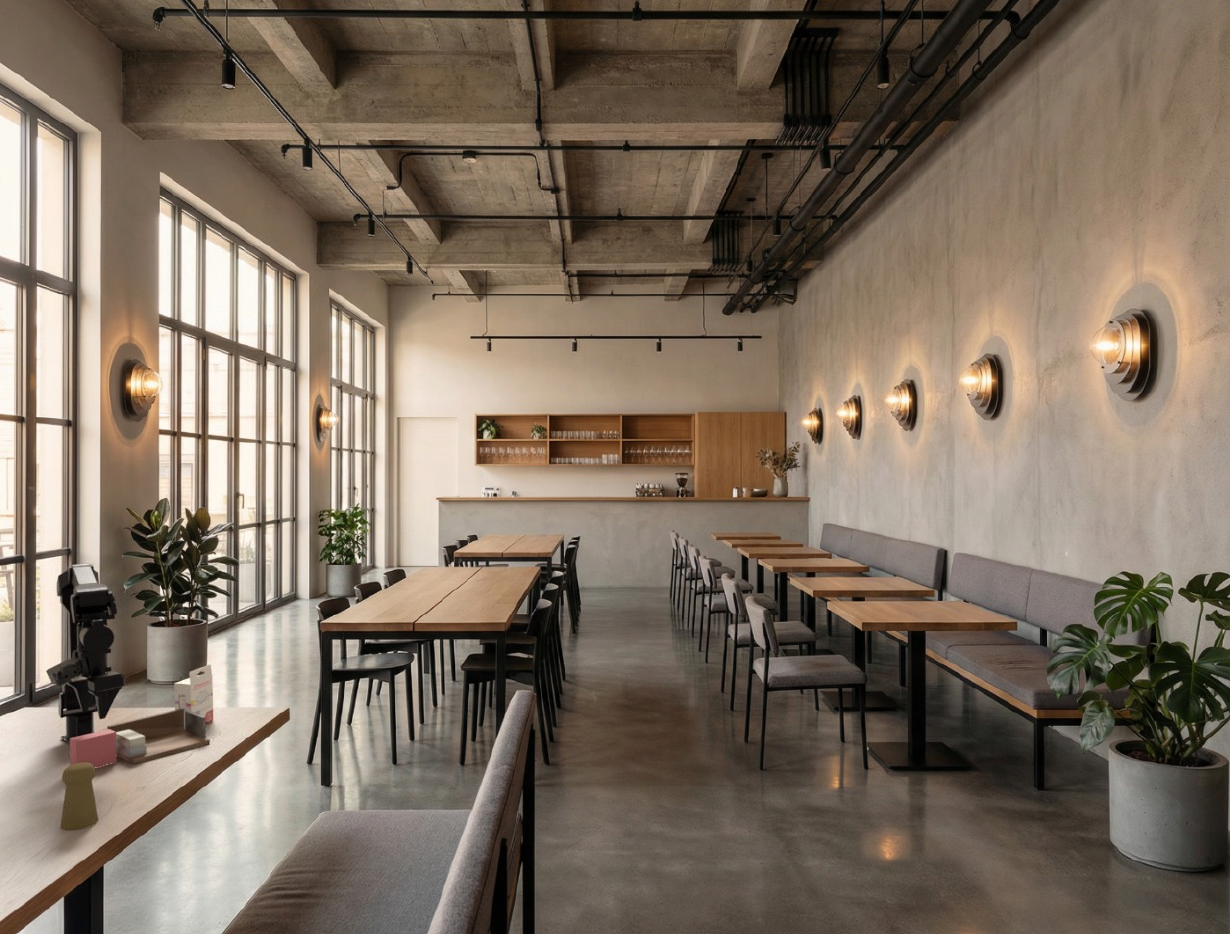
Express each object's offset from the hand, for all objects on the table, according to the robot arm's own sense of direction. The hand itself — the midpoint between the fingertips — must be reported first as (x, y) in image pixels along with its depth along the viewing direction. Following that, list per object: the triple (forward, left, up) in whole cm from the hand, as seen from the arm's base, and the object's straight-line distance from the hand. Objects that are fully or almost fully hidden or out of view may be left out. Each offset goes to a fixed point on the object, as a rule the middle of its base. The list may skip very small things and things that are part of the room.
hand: (93, 714), depth 189 cm
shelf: (-1, +14, -11) cm, 18 cm away
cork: (+31, -14, -12) cm, 36 cm away
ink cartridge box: (-12, +28, -12) cm, 32 cm away
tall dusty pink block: (0, 0, -12) cm, 12 cm away
